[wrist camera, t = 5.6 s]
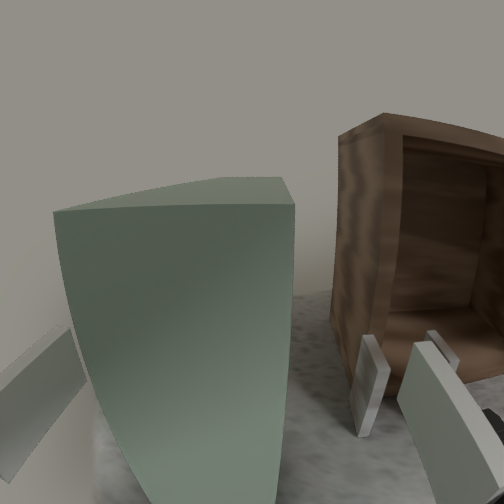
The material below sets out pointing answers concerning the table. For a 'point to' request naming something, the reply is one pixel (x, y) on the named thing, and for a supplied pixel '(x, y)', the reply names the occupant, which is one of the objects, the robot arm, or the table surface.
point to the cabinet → (417, 254)
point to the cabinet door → (188, 330)
